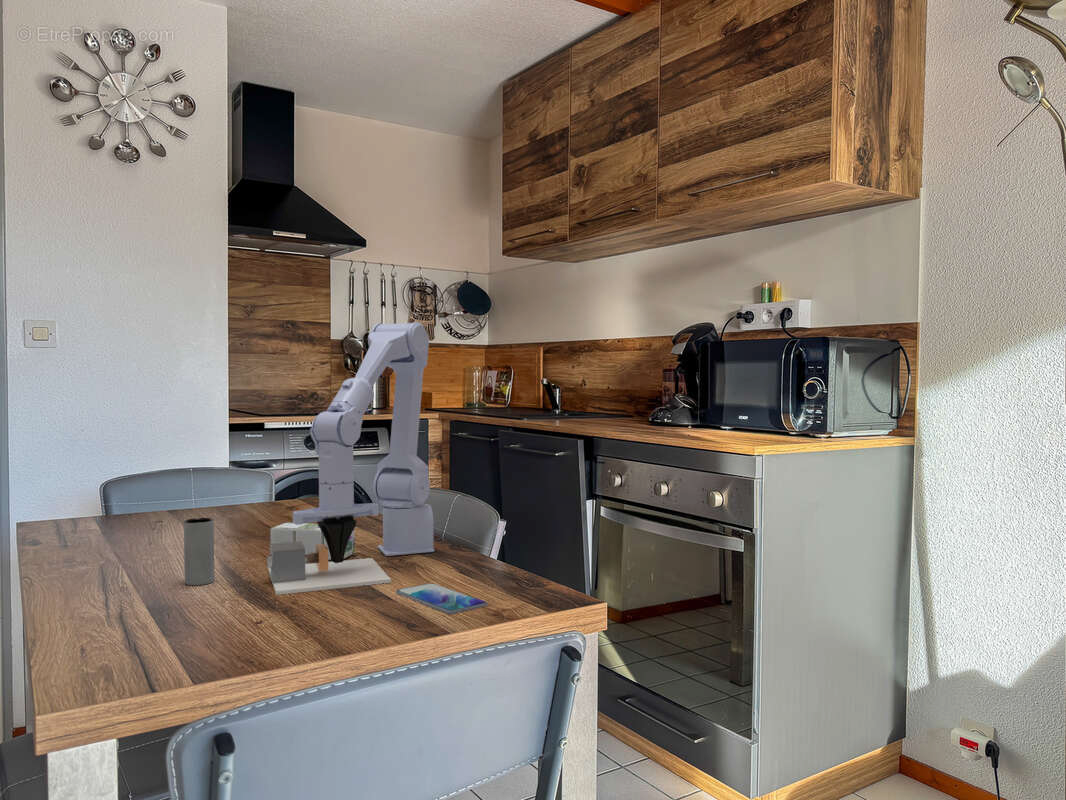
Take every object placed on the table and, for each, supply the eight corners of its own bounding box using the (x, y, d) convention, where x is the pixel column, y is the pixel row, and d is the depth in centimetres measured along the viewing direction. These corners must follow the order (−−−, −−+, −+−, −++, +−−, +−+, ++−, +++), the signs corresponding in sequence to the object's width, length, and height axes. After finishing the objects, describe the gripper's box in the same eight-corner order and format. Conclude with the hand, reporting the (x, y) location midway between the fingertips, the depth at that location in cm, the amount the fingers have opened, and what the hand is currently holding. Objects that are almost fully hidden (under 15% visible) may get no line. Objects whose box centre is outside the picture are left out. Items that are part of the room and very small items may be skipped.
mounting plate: (371, 561, 142) (371, 557, 142) (390, 582, 127) (390, 579, 127) (268, 571, 135) (268, 567, 135) (275, 595, 120) (275, 591, 120)
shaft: (325, 564, 133) (324, 543, 133) (328, 570, 129) (328, 548, 129) (266, 570, 129) (266, 548, 129) (268, 576, 126) (268, 553, 125)
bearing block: (301, 571, 132) (301, 541, 132) (305, 579, 127) (305, 548, 127) (270, 574, 130) (270, 543, 130) (273, 583, 125) (272, 551, 125)
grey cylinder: (220, 579, 129) (219, 518, 129) (200, 586, 125) (199, 523, 125) (198, 577, 131) (197, 516, 131) (178, 584, 127) (177, 521, 126)
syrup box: (269, 558, 145) (342, 562, 142) (269, 526, 144) (342, 530, 141) (285, 550, 150) (355, 555, 147) (285, 520, 150) (355, 524, 147)
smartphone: (432, 582, 126) (489, 602, 115) (432, 587, 126) (489, 608, 115) (393, 589, 121) (450, 611, 110) (393, 595, 121) (450, 617, 110)
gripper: (365, 476, 139) (366, 551, 139) (285, 483, 130) (286, 563, 130) (383, 480, 133) (384, 558, 134) (301, 487, 124) (301, 571, 125)
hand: (337, 561), depth 132 cm, fingers closed
